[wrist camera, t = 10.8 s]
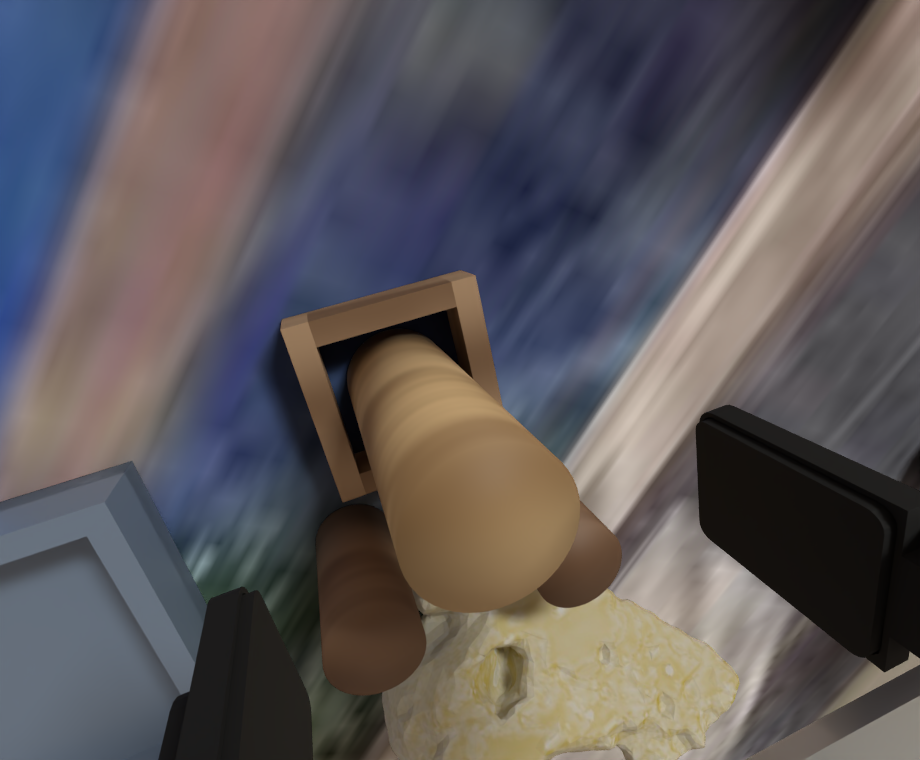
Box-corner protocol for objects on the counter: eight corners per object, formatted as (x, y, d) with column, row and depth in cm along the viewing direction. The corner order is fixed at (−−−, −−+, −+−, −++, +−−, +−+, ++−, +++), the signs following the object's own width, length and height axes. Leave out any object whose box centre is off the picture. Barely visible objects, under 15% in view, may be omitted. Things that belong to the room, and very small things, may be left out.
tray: (257, 702, 25) (252, 766, 22) (-65, 838, 23) (-119, 930, 20) (131, 461, 20) (104, 502, 17) (-303, 596, 18) (-423, 673, 15)
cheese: (305, 590, 27) (450, 908, 23) (316, 569, 21) (517, 998, 17) (525, 466, 34) (664, 689, 30) (581, 423, 28) (764, 696, 24)
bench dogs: (547, 498, 27) (626, 586, 21) (329, 582, 25) (340, 711, 18) (536, 438, 26) (616, 512, 19) (304, 520, 23) (308, 636, 17)
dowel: (455, 406, 24) (590, 570, 13) (363, 437, 23) (424, 640, 12) (433, 316, 22) (566, 415, 11) (333, 345, 21) (372, 482, 10)
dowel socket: (494, 426, 25) (510, 443, 23) (339, 480, 23) (342, 502, 21) (460, 270, 22) (475, 275, 20) (281, 319, 20) (280, 329, 19)
